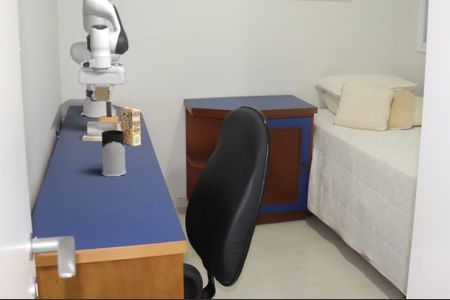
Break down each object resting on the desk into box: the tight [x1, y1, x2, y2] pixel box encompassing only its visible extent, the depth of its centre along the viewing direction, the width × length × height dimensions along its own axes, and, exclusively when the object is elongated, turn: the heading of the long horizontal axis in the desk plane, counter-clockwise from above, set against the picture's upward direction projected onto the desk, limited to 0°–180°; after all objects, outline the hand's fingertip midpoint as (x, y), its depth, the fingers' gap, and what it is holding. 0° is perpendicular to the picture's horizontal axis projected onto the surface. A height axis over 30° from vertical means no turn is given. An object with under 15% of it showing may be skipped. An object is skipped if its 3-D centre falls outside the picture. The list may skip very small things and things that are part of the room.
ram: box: [98, 100, 120, 129], centre depth 250 cm, size 6×8×12 cm
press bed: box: [81, 121, 122, 142], centre depth 245 cm, size 24×16×8 cm, turn 1°
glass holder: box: [101, 130, 127, 176], centre depth 190 cm, size 9×14×15 cm, turn 15°
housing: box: [96, 85, 111, 101], centre depth 237 cm, size 4×5×6 cm
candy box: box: [120, 106, 142, 147], centre depth 228 cm, size 9×4×15 cm, turn 44°
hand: (102, 94), depth 237 cm, fingers closed on housing, 5 cm apart
